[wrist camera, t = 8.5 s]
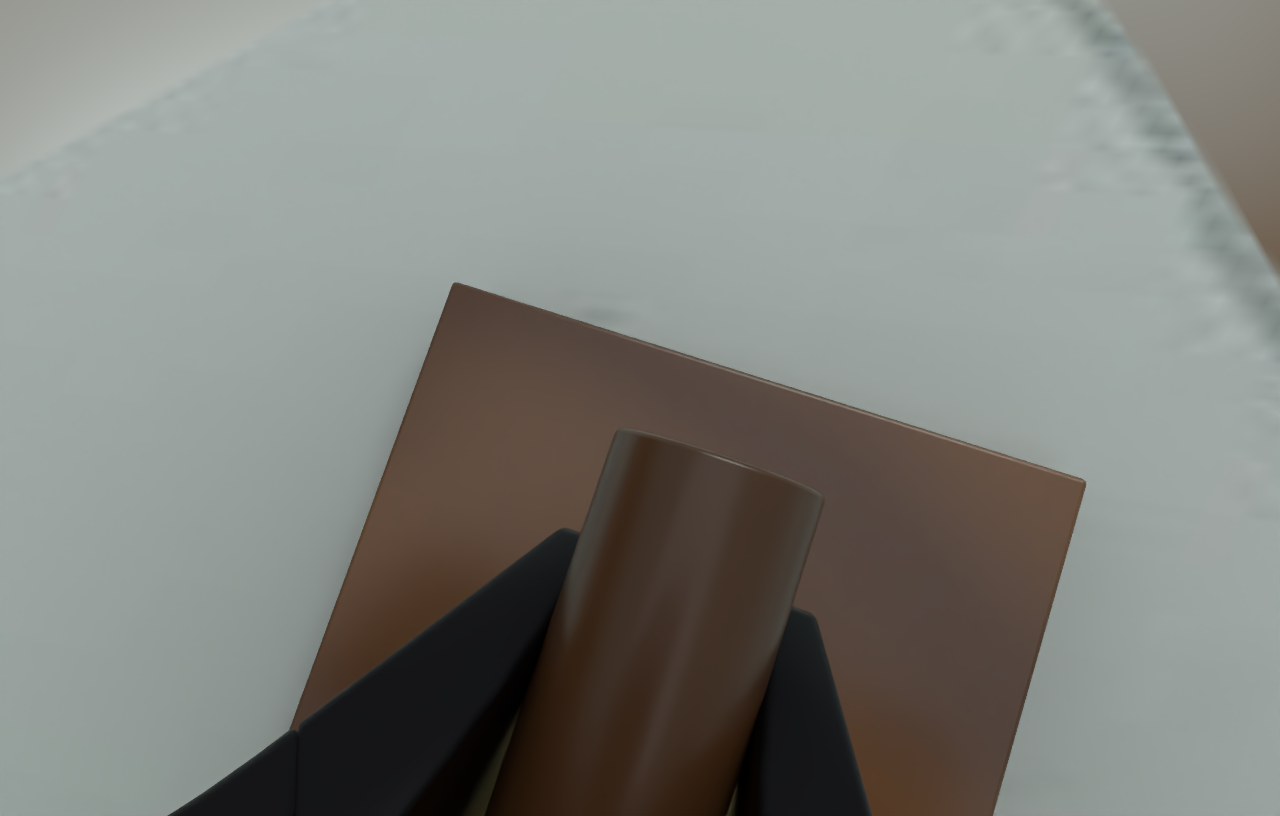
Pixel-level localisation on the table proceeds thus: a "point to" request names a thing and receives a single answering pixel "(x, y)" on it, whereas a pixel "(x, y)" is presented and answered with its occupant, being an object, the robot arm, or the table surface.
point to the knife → (660, 637)
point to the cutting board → (763, 437)
